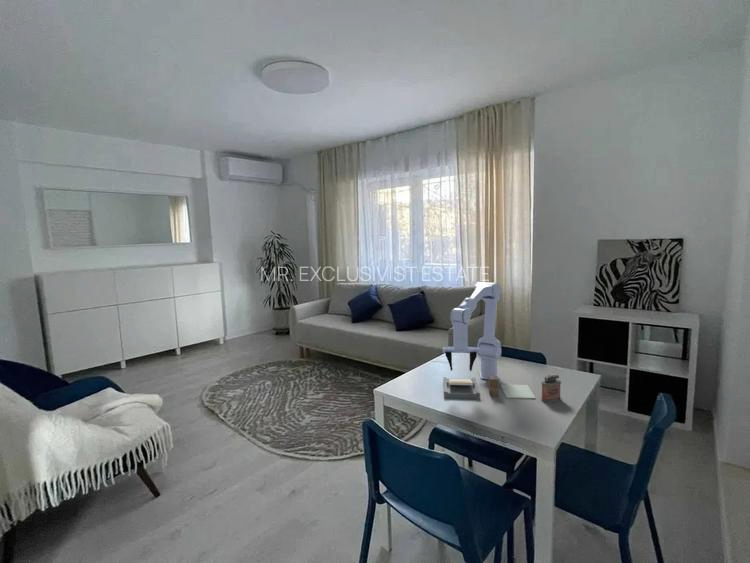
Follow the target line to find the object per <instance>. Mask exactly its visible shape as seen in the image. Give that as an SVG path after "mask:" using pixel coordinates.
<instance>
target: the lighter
mask: <svg viewBox="0 0 750 563" xmlns="http://www.w3.org/2000/svg"><path fill="white" fill-rule="evenodd" d="M561 384H562V381H561V379H560V375H559V374H558V373H557V374H552V375H551V374H548V375H546V376H544V380H542V381H541V402H543V403H545V404H549V403H554V402H560V401H561V400H562V397H561Z"/></svg>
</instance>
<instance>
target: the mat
mask: <svg viewBox="0 0 750 563" xmlns="http://www.w3.org/2000/svg"><path fill="white" fill-rule="evenodd" d="M500 387H501V389H502V392H503V394H504V396H505V398H506V399H519V400H521V399H524V400H536V399H537V398H536V395H534V393H533V391H532V390H531V388H530V387H529V385H528V384H500Z"/></svg>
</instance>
